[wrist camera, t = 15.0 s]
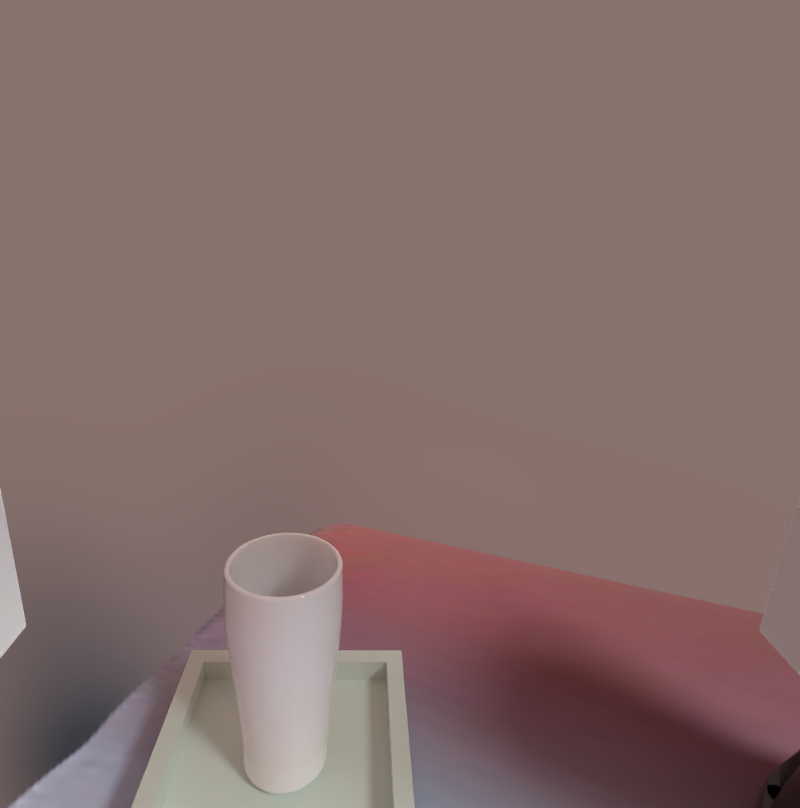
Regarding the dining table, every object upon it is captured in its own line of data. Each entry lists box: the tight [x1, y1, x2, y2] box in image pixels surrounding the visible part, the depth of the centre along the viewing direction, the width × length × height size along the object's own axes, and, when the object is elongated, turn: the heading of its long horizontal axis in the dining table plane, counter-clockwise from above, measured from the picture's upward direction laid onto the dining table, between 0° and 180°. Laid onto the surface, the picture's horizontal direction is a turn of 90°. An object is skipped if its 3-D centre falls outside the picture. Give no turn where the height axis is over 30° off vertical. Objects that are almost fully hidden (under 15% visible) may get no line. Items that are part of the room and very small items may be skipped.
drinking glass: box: [224, 533, 343, 794], centre depth 36 cm, size 7×7×15 cm
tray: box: [131, 650, 415, 808], centre depth 38 cm, size 16×16×2 cm
